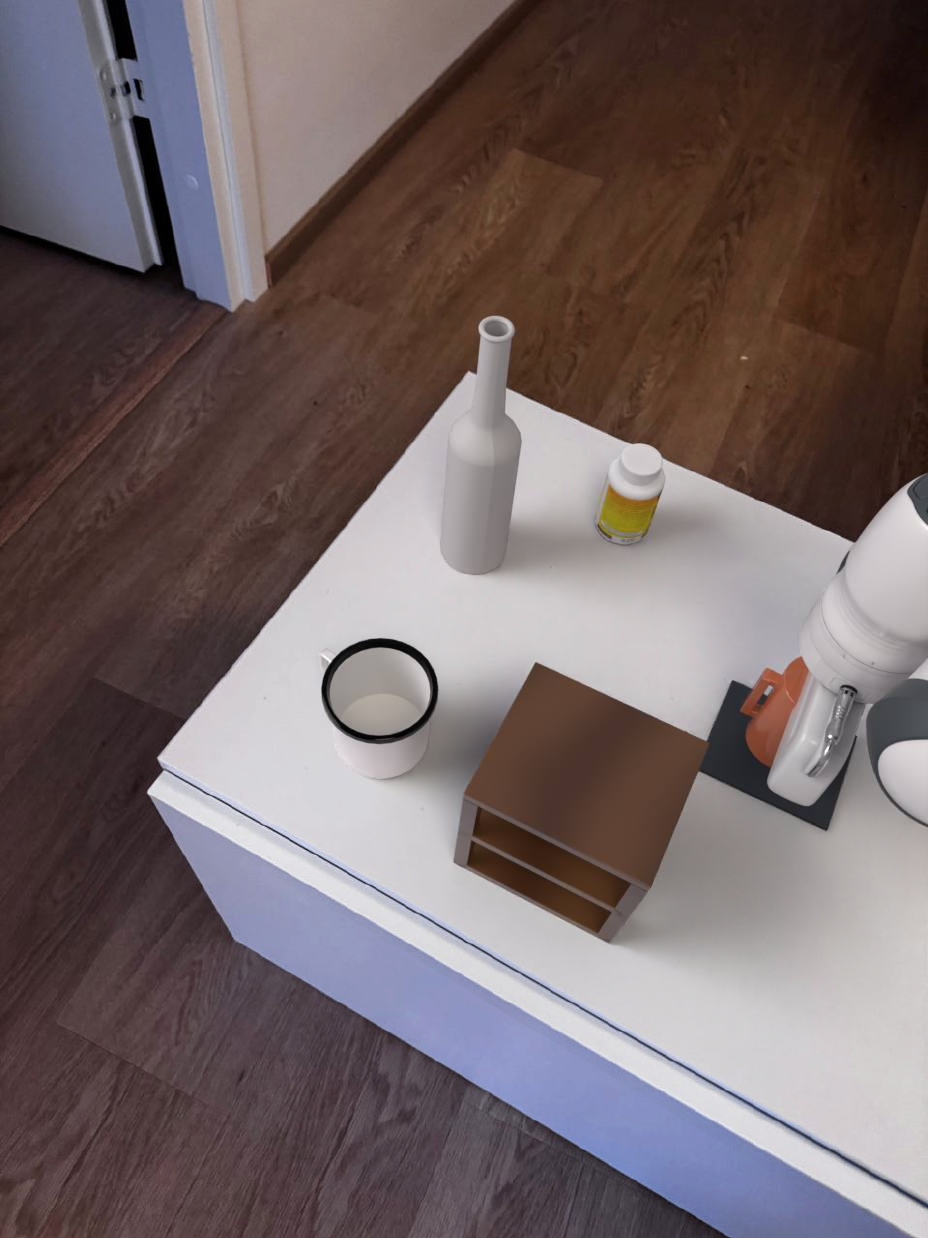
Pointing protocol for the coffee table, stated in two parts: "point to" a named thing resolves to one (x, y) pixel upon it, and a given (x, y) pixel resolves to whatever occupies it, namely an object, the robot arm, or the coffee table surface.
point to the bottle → (482, 462)
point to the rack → (576, 801)
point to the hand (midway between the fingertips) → (799, 724)
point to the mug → (379, 705)
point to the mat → (758, 763)
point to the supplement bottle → (630, 494)
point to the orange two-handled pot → (772, 708)
